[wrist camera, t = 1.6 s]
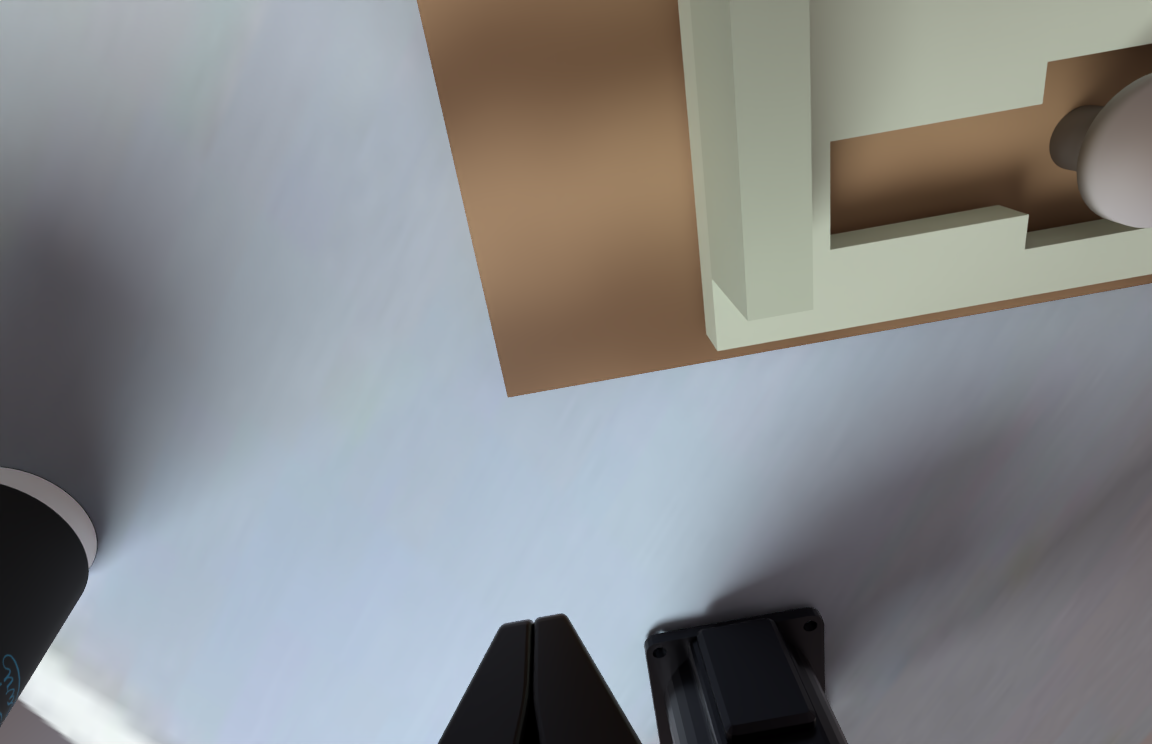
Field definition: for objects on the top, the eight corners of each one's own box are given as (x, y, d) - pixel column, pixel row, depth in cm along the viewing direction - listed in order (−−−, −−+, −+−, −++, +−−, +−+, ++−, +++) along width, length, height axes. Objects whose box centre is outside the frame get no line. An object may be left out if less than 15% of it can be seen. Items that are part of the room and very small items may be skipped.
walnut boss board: (1368, 232, 21) (1528, 266, 17) (508, 385, 21) (505, 447, 17) (1633, -553, 14) (1978, -740, 10) (347, -324, 14) (294, -439, 11)
